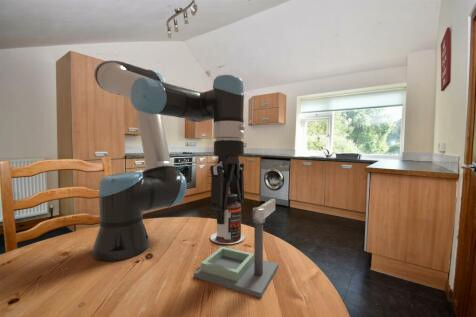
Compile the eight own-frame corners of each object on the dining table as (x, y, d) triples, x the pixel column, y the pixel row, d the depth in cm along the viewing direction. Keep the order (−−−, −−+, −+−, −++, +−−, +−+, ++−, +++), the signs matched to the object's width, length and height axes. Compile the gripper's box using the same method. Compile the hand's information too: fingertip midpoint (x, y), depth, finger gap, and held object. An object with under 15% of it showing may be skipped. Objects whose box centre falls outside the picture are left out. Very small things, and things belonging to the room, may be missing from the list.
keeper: (262, 224, 49) (262, 210, 49) (250, 222, 50) (250, 209, 50) (278, 210, 61) (278, 199, 61) (268, 208, 62) (268, 198, 62)
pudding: (220, 230, 83) (220, 217, 83) (249, 235, 78) (249, 221, 78) (203, 242, 72) (203, 227, 72) (236, 249, 67) (236, 232, 67)
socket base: (193, 277, 52) (193, 222, 51) (221, 254, 63) (221, 209, 63) (261, 297, 44) (261, 234, 44) (278, 267, 56) (278, 217, 56)
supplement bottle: (232, 246, 50) (232, 197, 50) (212, 240, 54) (212, 195, 53) (245, 237, 55) (245, 193, 55) (226, 233, 59) (226, 191, 58)
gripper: (223, 137, 44) (223, 249, 44) (256, 141, 61) (256, 223, 61) (193, 138, 47) (193, 243, 48) (232, 142, 64) (233, 219, 65)
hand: (229, 231), depth 54 cm, fingers closed on supplement bottle, 6 cm apart
